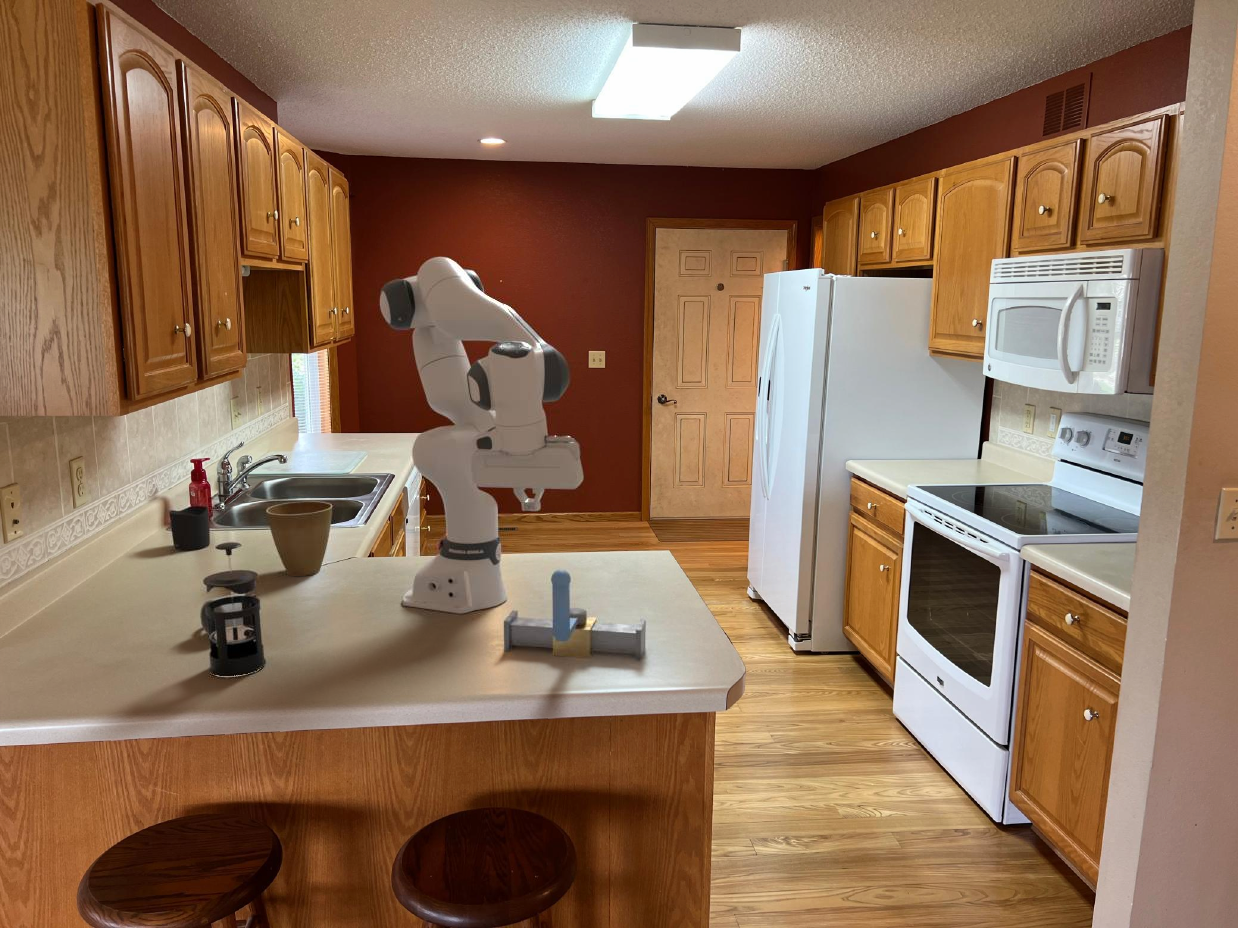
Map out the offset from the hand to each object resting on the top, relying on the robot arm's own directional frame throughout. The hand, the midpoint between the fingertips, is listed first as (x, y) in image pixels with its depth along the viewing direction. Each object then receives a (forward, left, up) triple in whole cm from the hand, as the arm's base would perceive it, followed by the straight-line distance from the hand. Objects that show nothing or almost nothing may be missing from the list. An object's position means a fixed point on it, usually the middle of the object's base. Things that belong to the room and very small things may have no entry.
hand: (531, 509), depth 162 cm
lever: (+7, 0, -22) cm, 23 cm away
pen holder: (-108, +56, -29) cm, 125 cm away
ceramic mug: (-64, +2, -29) cm, 70 cm away
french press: (-51, -13, -28) cm, 60 cm away
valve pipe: (+7, +5, -28) cm, 30 cm away
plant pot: (-68, +41, -28) cm, 85 cm away
